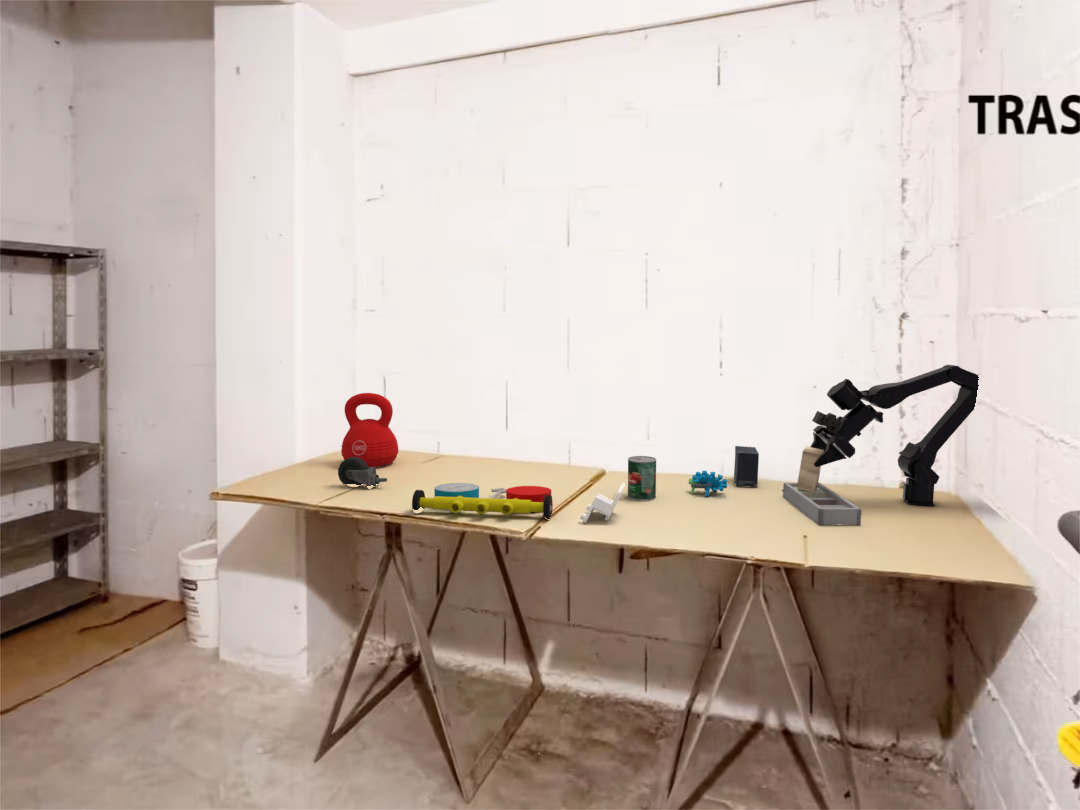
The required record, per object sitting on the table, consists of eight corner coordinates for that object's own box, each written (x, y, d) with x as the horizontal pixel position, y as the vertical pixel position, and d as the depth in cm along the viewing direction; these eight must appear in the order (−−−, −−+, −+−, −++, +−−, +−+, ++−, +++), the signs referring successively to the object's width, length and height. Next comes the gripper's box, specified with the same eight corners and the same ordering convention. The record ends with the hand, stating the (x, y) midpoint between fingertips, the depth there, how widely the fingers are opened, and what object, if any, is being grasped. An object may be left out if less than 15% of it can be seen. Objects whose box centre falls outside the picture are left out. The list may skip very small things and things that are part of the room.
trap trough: (783, 496, 193) (783, 482, 193) (818, 496, 193) (819, 482, 193) (819, 525, 167) (819, 509, 167) (860, 525, 167) (861, 509, 167)
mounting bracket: (601, 533, 169) (619, 495, 166) (578, 521, 170) (596, 483, 167) (608, 519, 180) (626, 483, 178) (587, 508, 181) (604, 472, 179)
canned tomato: (661, 496, 194) (662, 458, 193) (645, 502, 188) (645, 463, 187) (638, 491, 200) (638, 454, 198) (621, 497, 194) (622, 459, 192)
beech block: (800, 483, 192) (806, 446, 189) (817, 487, 189) (823, 450, 186) (796, 488, 188) (802, 450, 185) (813, 492, 186) (820, 454, 183)
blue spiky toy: (732, 488, 197) (721, 468, 190) (729, 505, 193) (717, 486, 187) (696, 487, 203) (684, 468, 197) (692, 505, 200) (680, 486, 194)
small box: (758, 488, 203) (759, 453, 202) (735, 487, 204) (736, 452, 203) (754, 479, 213) (756, 446, 212) (733, 478, 215) (734, 445, 213)
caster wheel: (337, 491, 206) (383, 489, 202) (332, 460, 205) (378, 457, 201) (346, 487, 211) (391, 484, 208) (342, 456, 210) (387, 453, 207)
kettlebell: (332, 470, 230) (328, 395, 227) (355, 458, 248) (352, 389, 245) (386, 471, 227) (384, 396, 223) (406, 459, 245) (404, 390, 242)
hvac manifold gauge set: (409, 493, 176) (439, 476, 200) (409, 518, 176) (440, 497, 201) (548, 499, 169) (562, 480, 194) (548, 524, 170) (562, 502, 195)
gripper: (822, 397, 194) (780, 435, 197) (844, 406, 176) (798, 448, 178) (849, 424, 194) (808, 462, 197) (875, 436, 176) (828, 478, 179)
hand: (809, 462), depth 188 cm, fingers open, 9 cm apart
